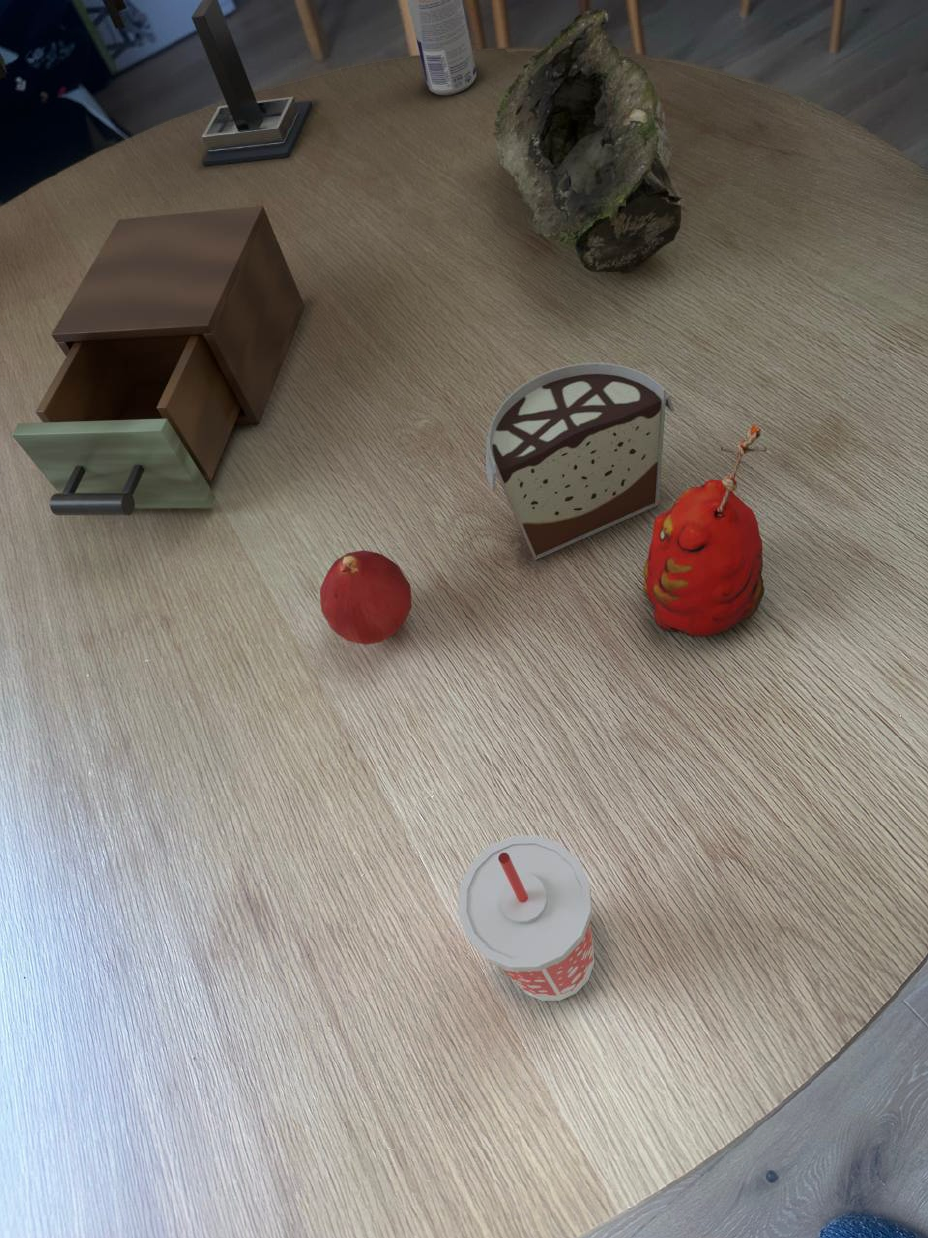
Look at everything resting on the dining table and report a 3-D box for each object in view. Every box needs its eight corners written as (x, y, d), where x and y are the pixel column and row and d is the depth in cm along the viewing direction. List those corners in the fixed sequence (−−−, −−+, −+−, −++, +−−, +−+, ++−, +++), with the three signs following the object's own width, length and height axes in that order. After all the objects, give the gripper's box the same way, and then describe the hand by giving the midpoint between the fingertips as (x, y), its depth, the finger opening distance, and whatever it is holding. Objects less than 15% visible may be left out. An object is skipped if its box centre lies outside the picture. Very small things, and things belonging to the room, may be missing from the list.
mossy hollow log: (643, 355, 82) (777, 213, 72) (518, 294, 76) (645, 130, 66) (593, 164, 98) (697, 25, 88) (485, 101, 92) (584, -56, 82)
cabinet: (259, 423, 81) (207, 324, 73) (114, 427, 84) (50, 334, 76) (305, 306, 88) (263, 205, 80) (171, 314, 92) (118, 218, 84)
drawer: (193, 553, 73) (139, 477, 66) (49, 552, 76) (-15, 479, 69) (261, 383, 82) (220, 302, 75) (131, 389, 85) (81, 311, 79)
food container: (637, 440, 71) (626, 329, 63) (678, 496, 67) (673, 385, 59) (481, 509, 70) (450, 406, 62) (514, 569, 67) (486, 468, 59)
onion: (327, 621, 67) (286, 549, 61) (401, 581, 68) (368, 505, 62) (361, 681, 64) (320, 611, 58) (438, 638, 65) (406, 564, 58)
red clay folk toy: (667, 543, 65) (656, 370, 53) (776, 562, 62) (790, 385, 50) (634, 637, 62) (613, 474, 50) (748, 661, 59) (755, 496, 47)
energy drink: (455, 64, 108) (429, -58, 98) (487, 76, 105) (463, -48, 95) (418, 88, 106) (388, -33, 97) (449, 101, 103) (421, -23, 94)
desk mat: (204, 166, 107) (202, 161, 106) (231, 114, 112) (229, 110, 112) (288, 156, 104) (286, 152, 104) (312, 104, 109) (311, 100, 109)
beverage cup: (594, 887, 53) (560, 774, 42) (622, 1003, 50) (594, 913, 38) (484, 912, 54) (422, 807, 42) (504, 1029, 50) (442, 948, 39)
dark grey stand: (209, 154, 107) (153, 27, 96) (225, 123, 110) (173, -3, 100) (285, 145, 104) (236, 14, 94) (299, 114, 108) (254, -16, 97)
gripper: (-219, -167, 59) (-42, 110, 73) (49, -273, 60) (173, 21, 74) (-213, -196, 64) (-48, 70, 78) (36, -293, 65) (156, -13, 78)
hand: (60, 46), depth 76 cm, fingers open, 9 cm apart
